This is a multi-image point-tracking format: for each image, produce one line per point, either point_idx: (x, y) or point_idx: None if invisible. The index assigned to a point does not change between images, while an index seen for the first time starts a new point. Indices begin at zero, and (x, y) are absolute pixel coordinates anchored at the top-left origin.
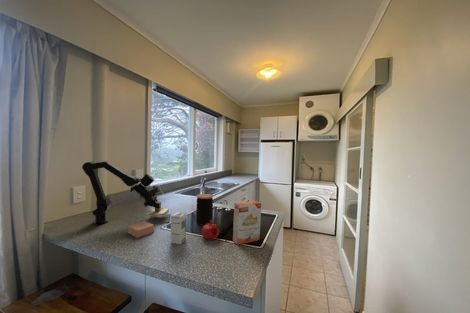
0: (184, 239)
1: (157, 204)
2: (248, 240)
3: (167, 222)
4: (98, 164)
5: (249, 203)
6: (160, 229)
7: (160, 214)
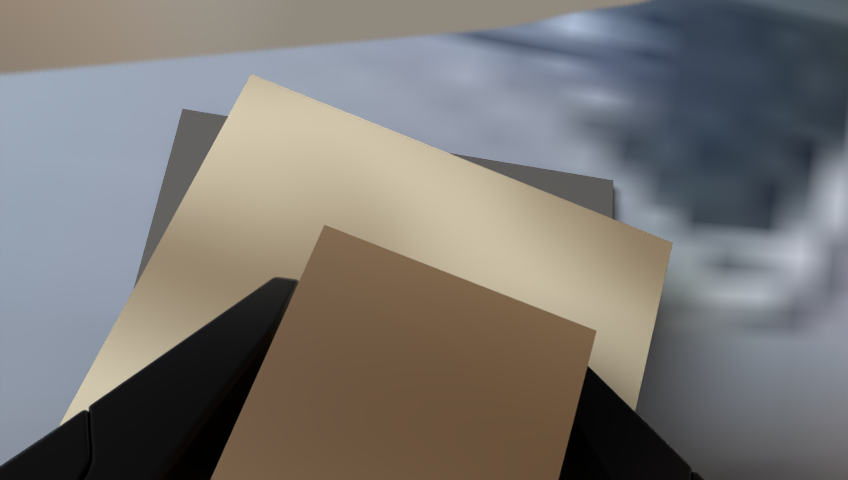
0: None
1: (655, 438)
2: None
3: (608, 211)
4: None
5: None
6: (835, 331)
7: (644, 314)
